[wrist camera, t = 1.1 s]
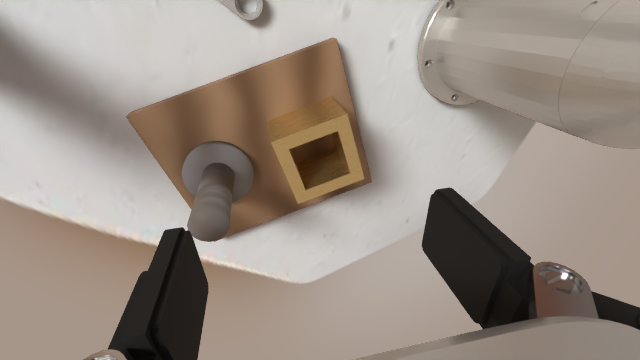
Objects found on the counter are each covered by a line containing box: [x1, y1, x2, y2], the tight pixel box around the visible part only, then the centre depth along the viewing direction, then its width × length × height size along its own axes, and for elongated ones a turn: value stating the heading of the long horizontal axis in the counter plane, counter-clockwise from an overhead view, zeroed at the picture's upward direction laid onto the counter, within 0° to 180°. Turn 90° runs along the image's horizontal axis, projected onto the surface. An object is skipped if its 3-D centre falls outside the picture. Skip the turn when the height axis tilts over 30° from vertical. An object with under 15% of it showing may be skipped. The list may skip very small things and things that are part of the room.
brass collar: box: [268, 97, 364, 204], centre depth 29 cm, size 7×7×6 cm
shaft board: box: [126, 38, 372, 242], centre depth 28 cm, size 21×17×11 cm
